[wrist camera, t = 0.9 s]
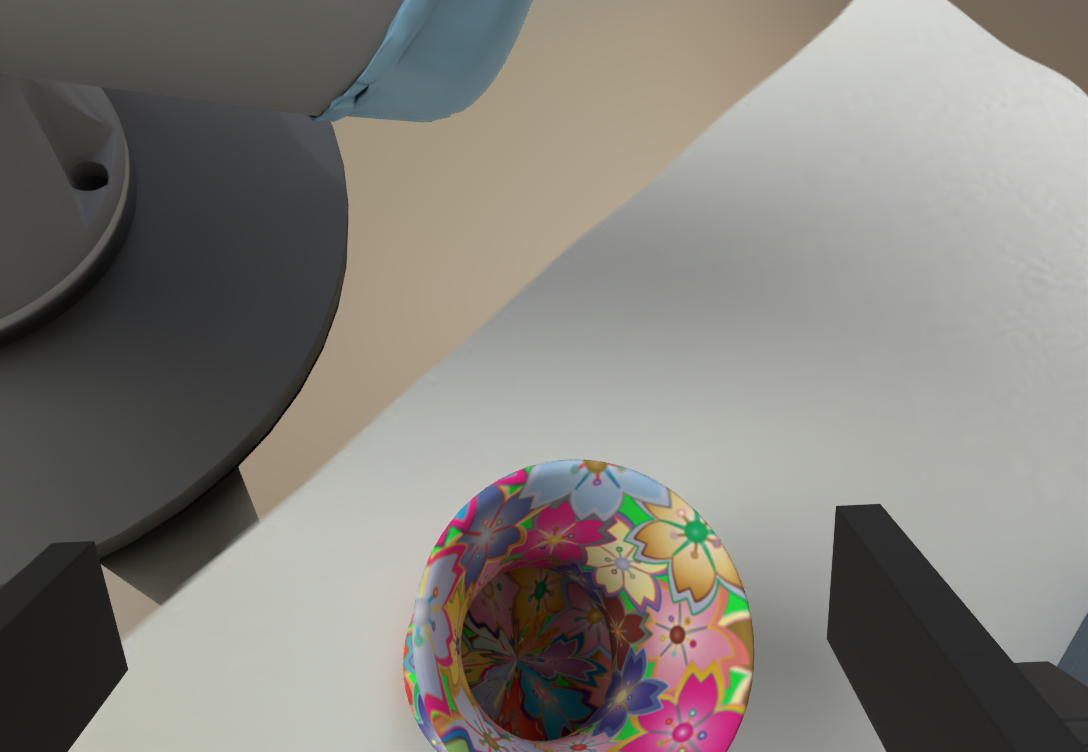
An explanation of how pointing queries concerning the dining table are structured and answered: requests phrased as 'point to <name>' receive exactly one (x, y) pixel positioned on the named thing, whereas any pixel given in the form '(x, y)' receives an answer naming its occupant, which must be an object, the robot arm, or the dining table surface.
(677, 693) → the mug
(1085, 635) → the tray
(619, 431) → the dining table surface
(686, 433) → the dining table surface
